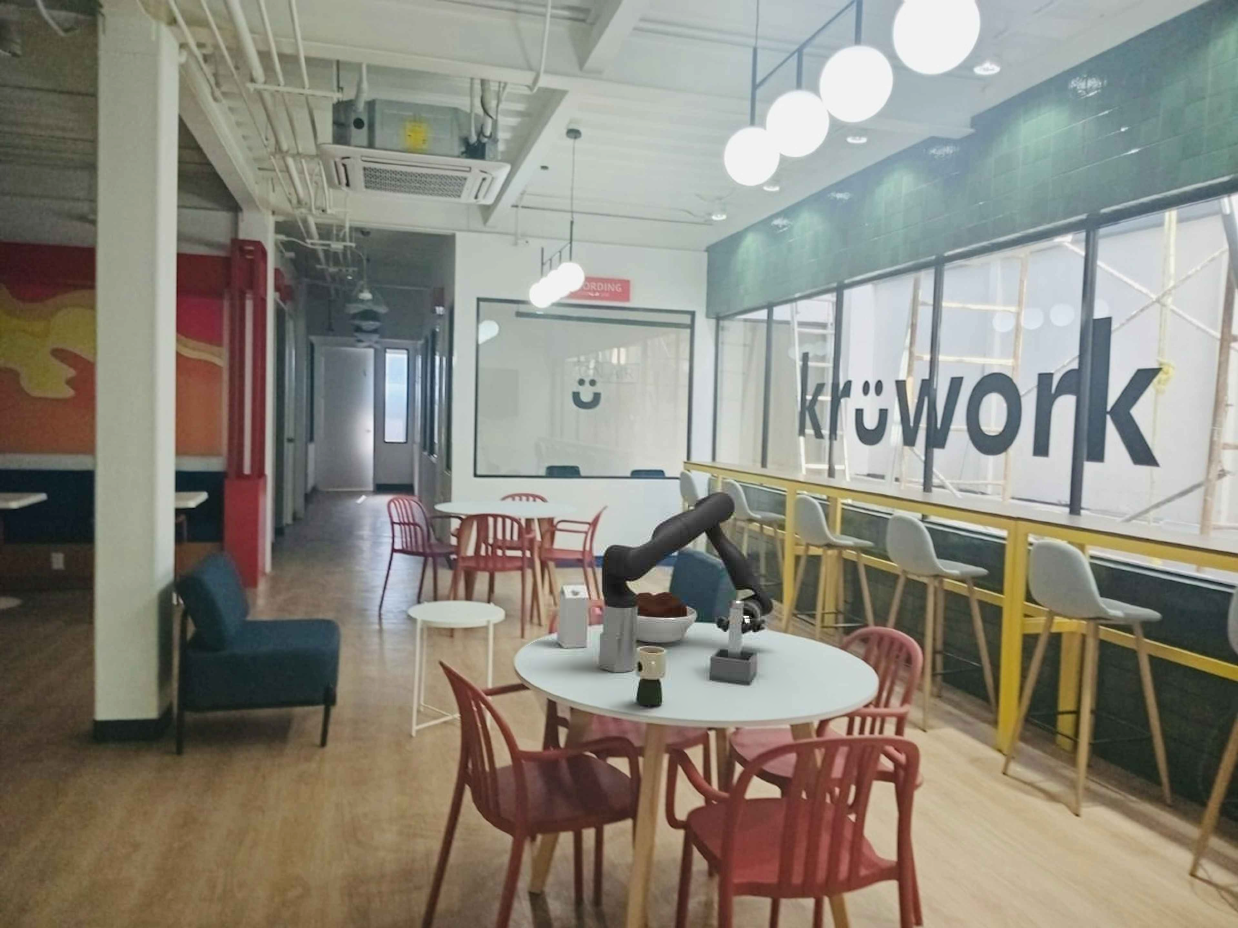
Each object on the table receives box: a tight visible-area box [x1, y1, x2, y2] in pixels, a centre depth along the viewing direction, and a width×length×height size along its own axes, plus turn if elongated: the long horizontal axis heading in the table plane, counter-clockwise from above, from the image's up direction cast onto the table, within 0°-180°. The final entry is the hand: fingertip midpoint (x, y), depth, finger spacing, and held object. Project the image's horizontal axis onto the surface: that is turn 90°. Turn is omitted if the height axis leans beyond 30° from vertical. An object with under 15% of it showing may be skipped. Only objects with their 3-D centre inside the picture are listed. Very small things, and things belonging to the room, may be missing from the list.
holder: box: [709, 647, 758, 686], centre depth 231 cm, size 11×11×6 cm
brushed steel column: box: [727, 599, 744, 660], centre depth 230 cm, size 5×5×20 cm
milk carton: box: [556, 581, 590, 649], centre depth 257 cm, size 7×7×19 cm
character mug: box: [635, 645, 667, 707], centre depth 205 cm, size 11×7×13 cm, turn 3°
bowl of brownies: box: [636, 591, 698, 644], centre depth 268 cm, size 25×25×15 cm
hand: (733, 629), depth 228 cm, fingers open, 4 cm apart
